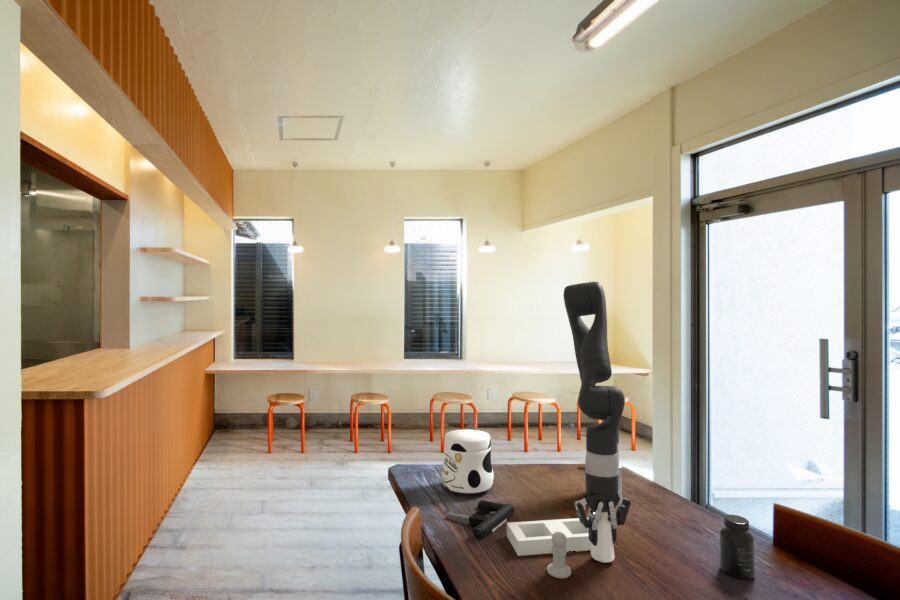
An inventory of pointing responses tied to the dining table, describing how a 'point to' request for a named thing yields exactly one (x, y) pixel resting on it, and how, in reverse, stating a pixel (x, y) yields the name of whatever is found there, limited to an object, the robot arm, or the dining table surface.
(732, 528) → the supplement bottle
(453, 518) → the door handle
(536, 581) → the dining table surface
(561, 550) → the chess piece
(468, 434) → the milk container
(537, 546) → the rail
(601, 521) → the salt shaker
